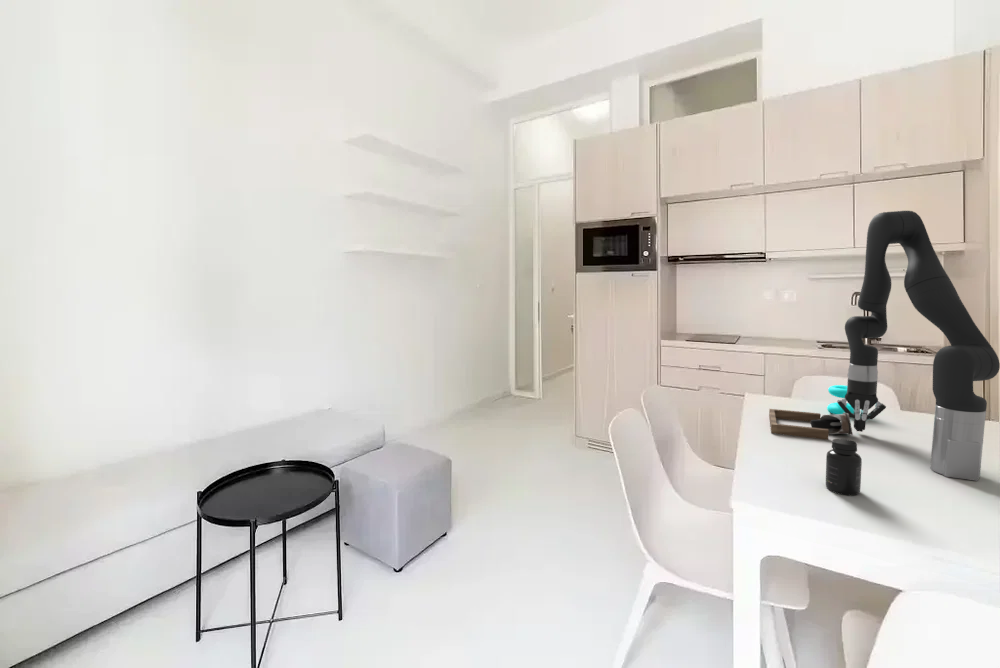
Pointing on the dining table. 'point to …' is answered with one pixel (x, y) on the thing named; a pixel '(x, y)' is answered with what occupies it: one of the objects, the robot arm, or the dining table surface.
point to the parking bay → (796, 430)
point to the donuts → (839, 392)
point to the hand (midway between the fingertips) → (859, 430)
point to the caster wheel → (834, 423)
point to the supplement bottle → (843, 467)
